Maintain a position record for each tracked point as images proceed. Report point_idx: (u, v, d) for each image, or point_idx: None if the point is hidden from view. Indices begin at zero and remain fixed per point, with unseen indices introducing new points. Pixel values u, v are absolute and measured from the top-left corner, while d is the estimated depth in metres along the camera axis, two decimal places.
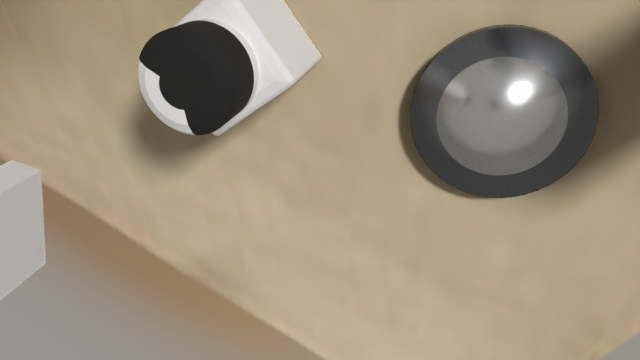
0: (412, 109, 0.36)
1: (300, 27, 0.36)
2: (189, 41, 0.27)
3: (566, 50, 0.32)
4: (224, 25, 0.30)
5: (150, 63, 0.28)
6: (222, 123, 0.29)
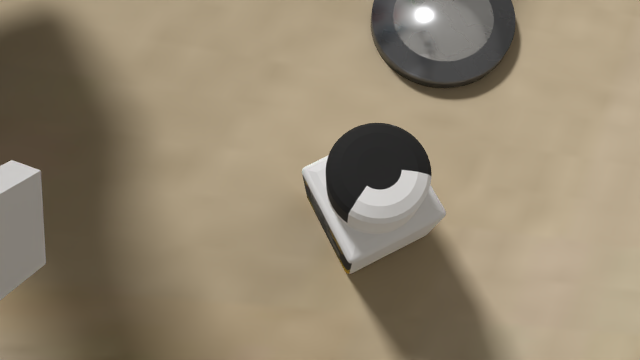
0: (433, 78, 0.42)
1: None
2: (338, 151, 0.30)
3: None
4: None
5: (353, 193, 0.29)
6: (419, 143, 0.30)
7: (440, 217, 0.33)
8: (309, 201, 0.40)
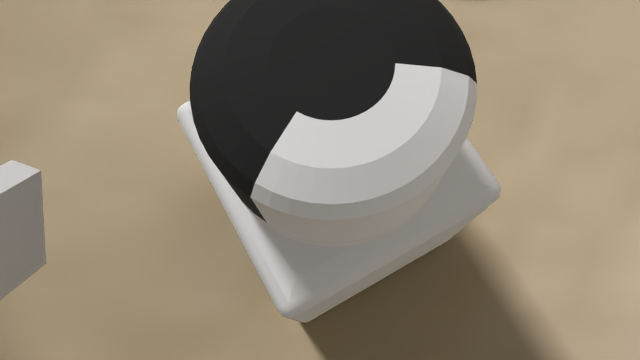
0: None
1: None
2: (220, 30, 0.11)
3: None
4: None
5: (258, 135, 0.10)
6: (438, 1, 0.11)
7: (489, 200, 0.14)
8: None
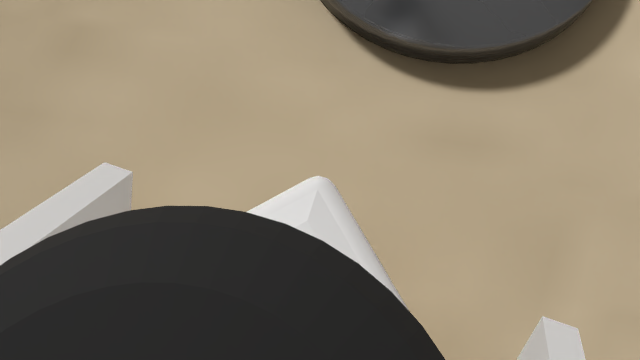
0: (443, 40, 0.17)
1: None
2: None
3: None
4: None
5: None
6: (414, 331, 0.05)
7: None
8: None
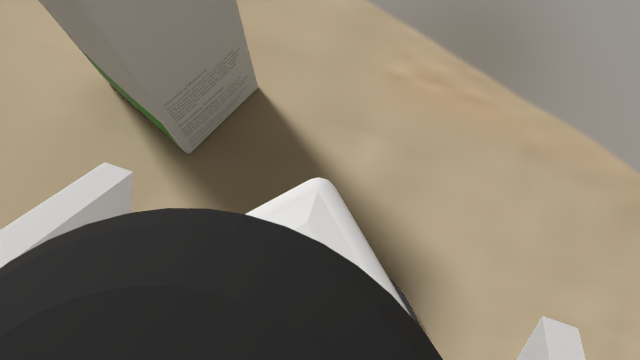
0: None
1: None
2: None
3: None
4: None
5: None
6: (414, 334, 0.05)
7: None
8: None
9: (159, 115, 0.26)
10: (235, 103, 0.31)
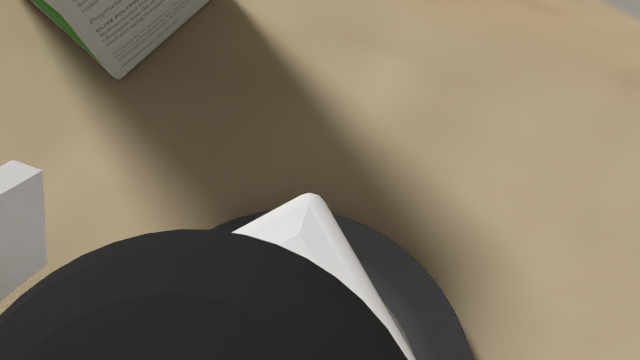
0: None
1: None
2: None
3: None
4: None
5: None
6: (379, 332, 0.06)
7: None
8: None
9: None
10: (187, 5, 0.21)
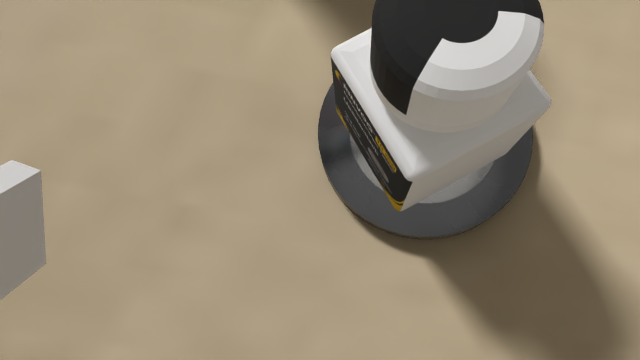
0: (410, 232, 0.28)
1: None
2: None
3: None
4: None
5: (420, 51, 0.18)
6: None
7: (543, 108, 0.22)
8: (340, 116, 0.29)
9: None
10: None
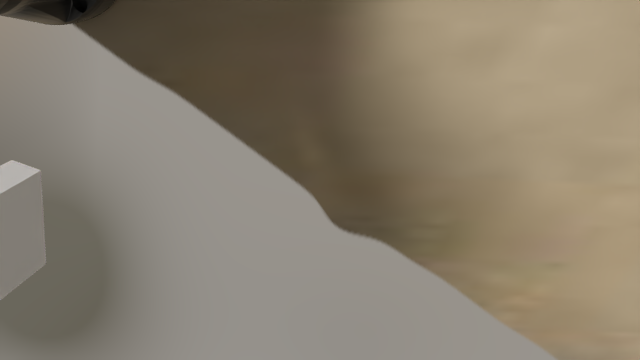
0: None
1: None
2: None
3: None
4: None
5: None
6: None
7: None
8: None
9: None
10: None
